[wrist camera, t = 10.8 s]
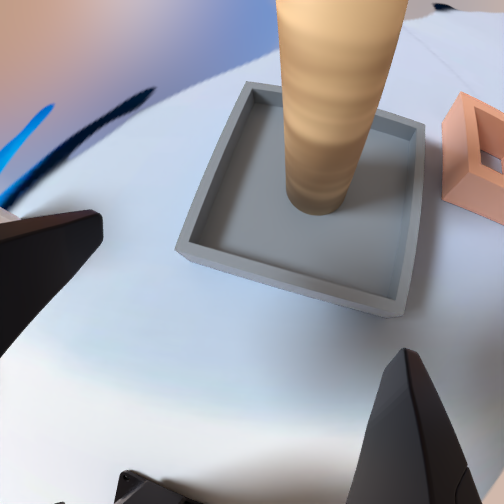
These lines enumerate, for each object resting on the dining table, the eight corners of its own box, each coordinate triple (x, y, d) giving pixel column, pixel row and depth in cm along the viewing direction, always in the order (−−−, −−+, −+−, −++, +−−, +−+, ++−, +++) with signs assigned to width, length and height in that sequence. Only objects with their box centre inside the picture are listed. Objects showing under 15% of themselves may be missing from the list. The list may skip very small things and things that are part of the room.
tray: (386, 318, 16) (403, 315, 13) (189, 261, 18) (174, 249, 16) (412, 146, 19) (425, 124, 16) (250, 106, 21) (246, 81, 18)
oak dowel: (350, 213, 17) (443, -25, 3) (288, 217, 17) (277, -47, 3) (340, 160, 17) (385, -67, 4) (283, 163, 18) (264, -76, 4)
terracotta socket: (513, 230, 16) (545, 211, 12) (441, 199, 17) (468, 171, 14) (507, 154, 18) (531, 129, 14) (441, 123, 19) (460, 91, 15)
